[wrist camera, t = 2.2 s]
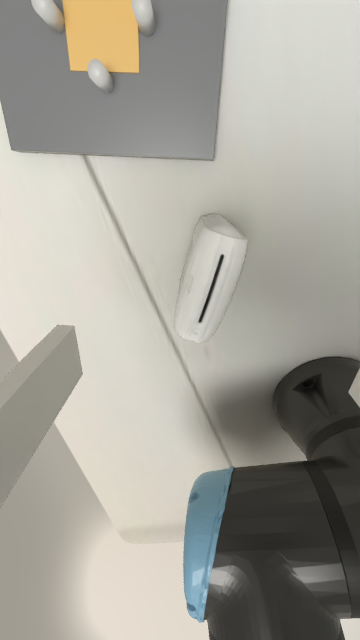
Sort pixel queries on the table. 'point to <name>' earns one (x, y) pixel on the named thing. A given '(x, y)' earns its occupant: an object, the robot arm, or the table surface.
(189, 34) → the pin tray
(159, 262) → the table surface
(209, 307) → the photo printer
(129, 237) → the table surface
